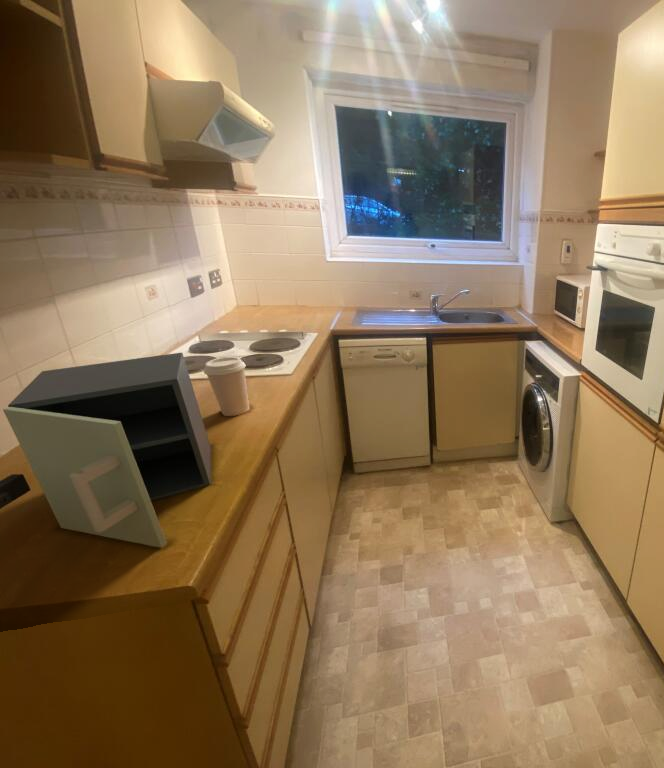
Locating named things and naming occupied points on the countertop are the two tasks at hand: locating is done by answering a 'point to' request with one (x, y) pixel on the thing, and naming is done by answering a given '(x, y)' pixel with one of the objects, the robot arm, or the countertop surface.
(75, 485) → the door
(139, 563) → the countertop surface
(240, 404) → the coffee cup
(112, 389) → the cupboard
